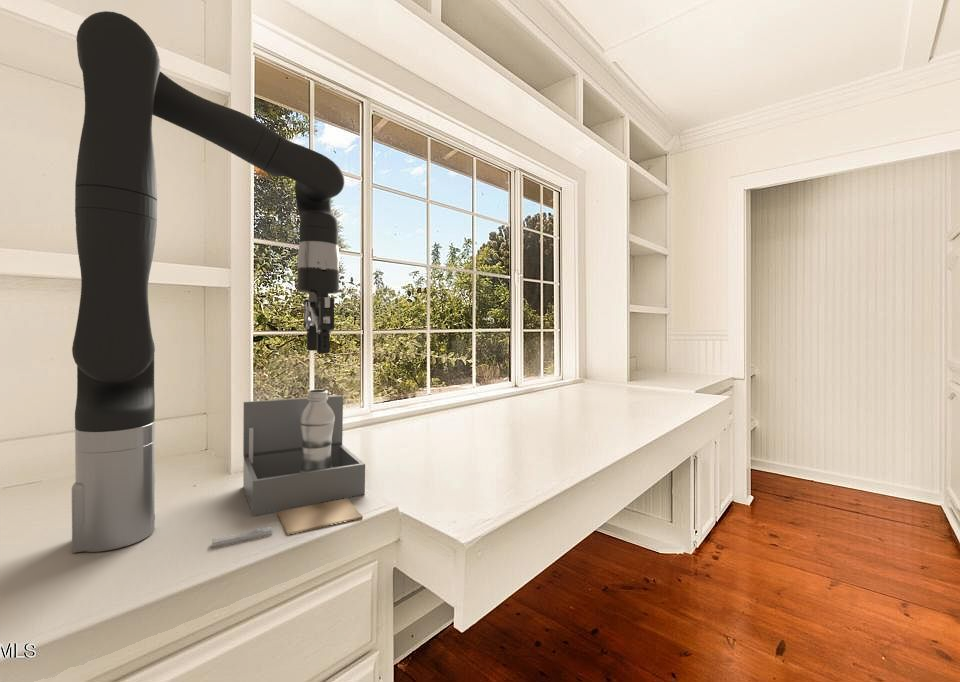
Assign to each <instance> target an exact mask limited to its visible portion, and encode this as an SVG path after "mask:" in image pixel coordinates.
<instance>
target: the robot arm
mask: <svg viewBox="0 0 960 682" xmlns="http://www.w3.org/2000/svg"><path fill="white" fill-rule="evenodd" d="M76 49H77V50H76V51H77V59H78V65H79V67H80V70H81V72H82V80H83V90H84V115H83V116H84V117H83V124H82V130H81V135H80V140H79V145H78V146H79V148H78V153H77V154H78V155H77V162H76V172H75V173H76V174H75V183H74V184H75V185H74V187H75V188H74V189H75V193H74V197H75V199H74V200H75V201H74V214H75V215H74V216H75V233H76V234H75V235H76V245H77V247H76V248H77V255H78V261H79V262H78V263H79V269H80V287H81V288H80V297H79V306H78V314H77V320H76V326H75V332H74V337H73V341H72V346H71V353H72V358H73V360H74V362H75V364H76V365H77V366H76V368H77V370H76V379H77V381H76V384H77V385H76V401H75V411H74V437H75V438H74V439H75V440H74V441H75V442H74V447H75V449H74V454H75V463H74V465H75V470H74V471H75V473H74V474H75V482H74V483H73V484H72V486H71V552H72V553H75V554H76V553H79V552H90V553H91V552H92V553H94V552H98V553H99V552H105V551H111V550H116V549H120V548H125V547H128V546H130V545H133V544H136V543H138V542H140V541H143V540H144V539H146V538H148V537H150V536H151V535H152V534H153V533H154V532H155V526H156V525H155V521H156V514H155V512H156V511H155V507H156V505H155V503H156V501H155V498H156V497H155V494H156V493H155V488H156V487H155V486H156V485H155V483H156V480H155V476H156V475H155V463H156V462H155V461H156V459H155V457H156V456H155V452H156V451H155V449H156V448H155V445H156V444H155V443H156V442H155V436H156V435H155V419H156V418H155V412H156V411H155V410H156V409H155V407H156V405H155V404H156V403H155V401H156V400H155V398H156V397H155V395H156V394H155V351H156V350H155V349H156V348H155V347H156V346H155V343H154V341H155V340H154V338H153V333H152V328H151V327H152V326H151V318H150V317H151V316H150V308H149V278H150V274H151V268H152V263H153V258H154V252H155V245H156V237H157V225H158V223H157V222H158V193H157V192H158V191H157V190H158V189H157V187H158V186H157V171H156V158H155V148H154V141H153V116H154V117H157V118H159V119H162V120H164V121H165V122H166V121H167V122H169V123H170V124H172V125H175V126H177V127H179V128H181V129H184V130H186V131H188V132H190V133H191V134H192V133H193V134H195V135H196V136H198V137H201V138H203V139H205V140H207V141H209V142H211V143H212V144H214V145H216V146H219V147H220V148H222V149H223V150H226V151H228V152H229V153H231V154H233V155H234V156H236V157H238V158H240V159H241V160H244V161H245V162H247V163H248V164H250V165H252V166H254V167H255V168H257V169H259V170H261V171H263V172H265V173H267V174H268V175H270V176H273V177H276V178H277V177H278V178H280V177H285V178H288V179H291V180H293V181H295V183H294V193H295V194H294V195H295V201H296V207H297V212H298V217H299V231H298V232H299V236H298V237H299V238H298V239H299V243H298V245H299V246H298V251H297V283H296V284H297V291H298V292H300V293H306V294H308V298H305V299H304V300H303V324H302V326H303V329H305V332H306V350H307V351H310V352H311V351H313V352H314V351H316V353H317V354H319V355H320V354H321V355H322V354H325V355H327V354H330V351H331V333H332V331H334V330H335V328H336V327H335V298H334V297H333V296H332V297H331V296H329V295H331V294H338V293H339V292H340V252H339V224H338V223H339V222H338V218H337V217H336V216H335V215H333V214H332V208H331V207H332V205H331V199H332V198H334V197H336V196H338V195H339V194H340V193H342V191H343V189H344V187H345V176H344V174H343V171H342V170H341V168H340V166H338V165H337V164H336V163H335V161H333V160H332V159H330V158H329V157H327V156H326V155H324V154H322V153H319V152H317V151H315V150H313V149H310V148H308V147H306V146H303V145H301V144H298V143H296V142H292V141H290V140H288V139H286V137H284V136H282V134H281V135H280V134H279V133H278V132H276V131H275V130H273V129H272V128H270V127H269V126H266V125H265V124H264V123H261V122H260V121H259V120H257V119H256V118H253V117H251V116H250V115H247V114H245V113H243V112H240V111H238V110H236V109H234V108H230V107H227V106H224V105H222V104H219V103H216V102H214V101H212V100H209V99H206V98H204V97H202V96H200V95H197V94H196V93H193V92H192V91H190V90H188V89H186V88H184V87H183V86H181V85H179V84H178V83H177V82H175V81H174V80H173V79H171V78H170V77H168V76H167V74H164V73H163V72H162V71H161V61H160V60H161V59H160V56H159V53H158V49H157V47H156V45H155V43H154V42H153V40H152V38H151V37H150V35H149V34H148V33H147V32H146V31H145V30H144V28H142V26H140V25H139V24H138V22H136V21H135V20H133V19H131V18H130V17H128V16H126V15H124V14H122V13H118V12H115V11H105V10H104V11H98V12H95V13H92V14H91V15H89V16H88V17H86V18H85V19H84V20H83V22H82V23H81V24H80V25H79V27H78V29H77V33H76Z"/></svg>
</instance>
